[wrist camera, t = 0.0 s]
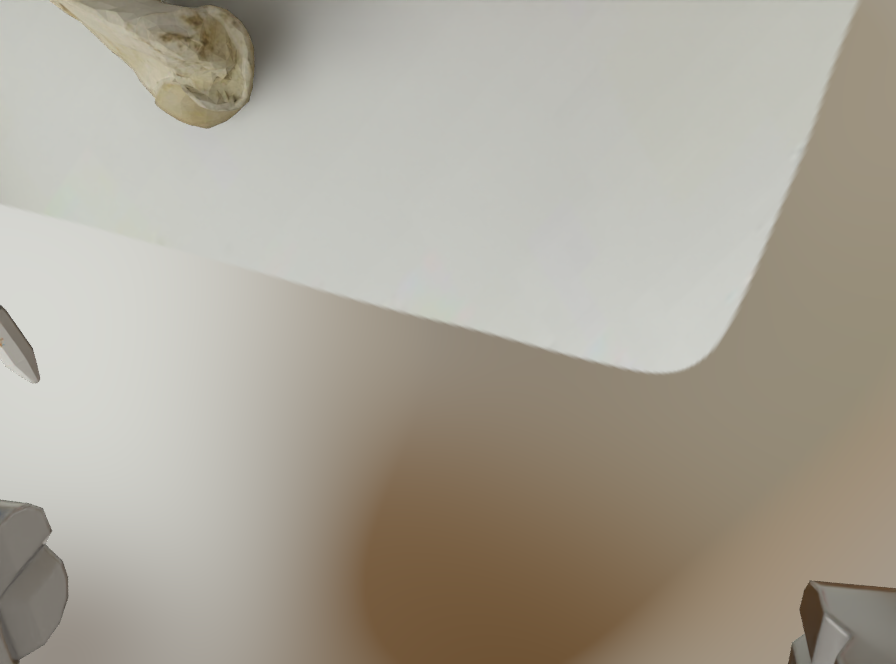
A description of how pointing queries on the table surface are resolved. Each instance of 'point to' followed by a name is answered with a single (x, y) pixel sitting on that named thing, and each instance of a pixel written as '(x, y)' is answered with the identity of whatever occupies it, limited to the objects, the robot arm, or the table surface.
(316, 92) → the table surface
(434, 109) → the table surface
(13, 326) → the rocket
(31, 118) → the table surface
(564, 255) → the table surface
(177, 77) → the bone
